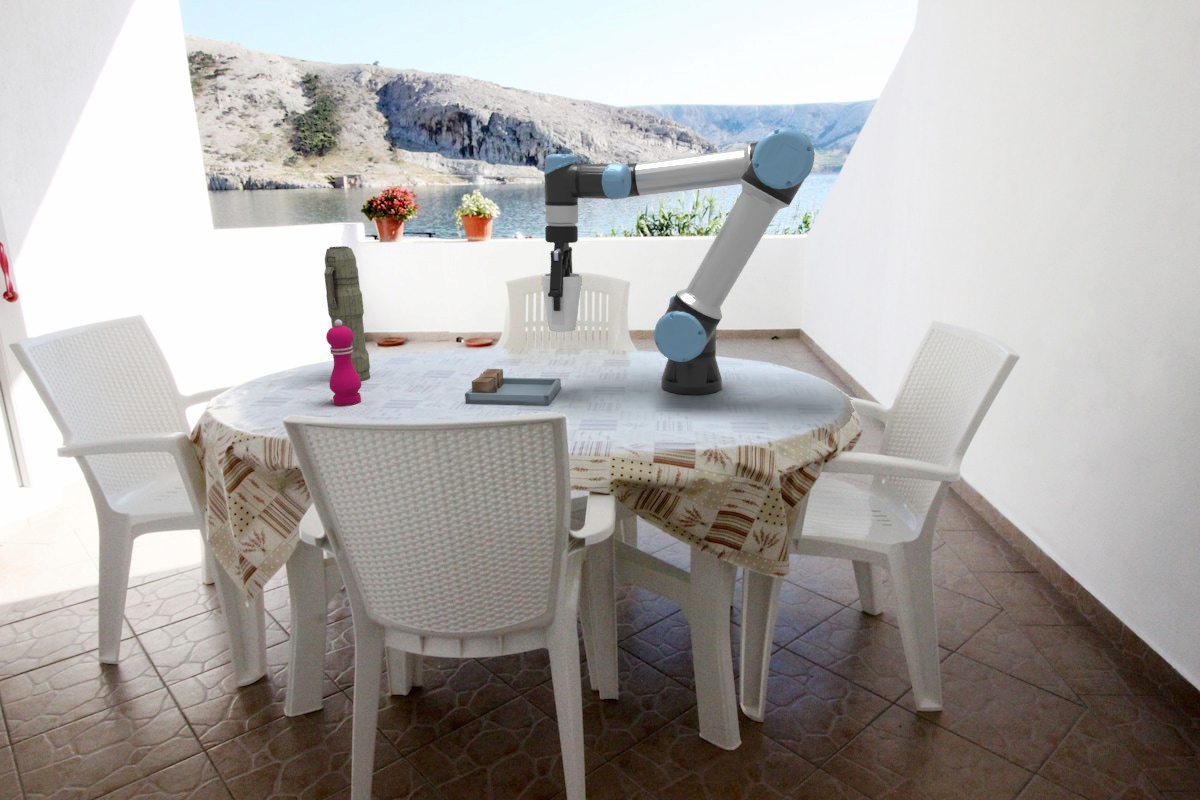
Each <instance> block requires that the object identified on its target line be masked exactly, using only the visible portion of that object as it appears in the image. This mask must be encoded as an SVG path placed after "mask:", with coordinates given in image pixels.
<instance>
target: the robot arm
mask: <svg viewBox="0 0 1200 800" xmlns="http://www.w3.org/2000/svg"><path fill="white" fill-rule="evenodd" d="M544 161H545V162H544V174H543V177H544V200H545V202H544V204H545V205H544V206H545V207H544V209H543V210H542V214H544V215H545V218H544V220H545V223H546V224H547V225H545V229H544V231H545V234H544V235H545V242H547V243H550V244H551V243H553V244H554V245H553V250H551V251H550V254H549V255H550V272H549V273H550V291H549V293H548V297H552V325H564V297H562V296H563V277H570V273H573V258H572V257H573V253H572V252H573V248H572V246H570V245H569V244H572V243H573V244H575V243H577V242H578V241H579V239H578V238H579V237H578V236H579V232H578V231H579V230H578V229H579V228H578V226H577V225H576V224H578V223H579V204H578V200H579V199H598V200H599V199H600V200H602V199H604V200H605V199H606V200H622V199H627V198H631V197H633V198H634V197H640V196H648V195H656V194H666V193H673V192H683V191H684V192H686V191H692V190H700V189H701V190H702V189H710V188H720V187H727V186H736V185H741V192H740V194H739V196H738V198H737V199H736V200H735V203H734V205H733V206H732V208H731V210H730V212H729V214H728V215H727V217H726V219H725V221H723V224H722V226H721V227H720V230H719V232H718V233H717V235H716V236H715V238H714V240H713V242H712V244H711V245H710V247H709V249H708V251H707V253H706V254H705V255H704V258H703V259H702V261H701V263H700V265H699V266H698V267H697V268H698V269H696V272H695V273H694V275H693V277H692V278H691V281H690V282H689V284H688V286H687V288H685V289H682V290H681V289H680V290H679V291H676V294H675V295H674V296H671V297H670V299H669V303H668V307H667V310H666V311H665V313H664V314H663V315H662V316H661V317H660V318H659V319H658V320H657V322H656V325H655V328H654V334H653V336H654V337H653V339H654V342H655V346H656V348H657V350H658V351H659V353H661V354H662V355H663V356H664V357H665V358H667V361H666V363H665V368H664V370H663V372H662V376H661V388H662V390H665V391H666V392H669V393H674V394H679V395H691V396H692V395H709V394H712V393H716V392H719V391H721V389H722V386H723V385H722V383H723V382H722V381H723V379H722V375H721V372H720V369H719V365H718V362H717V358H716V357H717V356H716V354H717V353H716V352H717V351H716V350H717V327H718V325H719V323H720V322H721V320H722V318H723V314H722V309H721V307H722V305H723V304H724V302H725V300H726V298H727V297H728V295H729V293H730V292H731V290H732V288H733V287H734V285H735V283H736V282H737V279H738V278H739V277H740V275H741V273H742V272H743V270H744V268H745V266H746V265H747V263H748V262H749V260H750V258H751V256H752V255H753V253H754V251H755V250H756V248H757V246H758V244H759V242H760V241H761V240H762V237H764V234H765V233H766V231H767V229H768V228H769V225H771V223H772V221H773V219H774V218H775V216H776V214H777V212H778V211H779V210H781V209H784V208H787V207H790V204H791V203H792V201H793V200H794V198H795V196H796V195H797V193H798V191H800V188H801V186H802V185H803V183H804V182H805V180H806V178H808V176H809V175H810V173H811V172H812V170H813V166H814V162H815V149H814V145H813V143H812V141H811V140H810V138H809V137H808V136H807V134H805V133H804V132H802V130H798V129H796V128H794V127H784V126H783V127H778V128H776V129H775V128H774V129H773V130H770V131H768V132H767V133H766V134H765V135H763V137H762V138H761V139H759V141H757V142H752V143H748V144H747V146H745V148H742V149H741V148H740V149H733V150H725V151H719V152H711V153H702V154H697V155H696V154H695V155H689V156H679V157H674V158H673V157H672V158H664V159H658V160H651V161H642V162H636V163H628V164H627V163H626V164H625V163H618V162H617V163H616V162H615V163H614V162H610V163H581V162H579V157H578V156H577V155H576V154H574V153H573V154H567V153H565V154H564V153H552V154H548V155H547V156H546V157H545V160H544Z"/></svg>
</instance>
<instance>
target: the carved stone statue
mask: <svg viewBox="0 0 1200 800" xmlns="http://www.w3.org/2000/svg"><path fill="white" fill-rule="evenodd" d="M324 264H325V270H324V274H323V275H324V281H325V282H324V283H325V289H326V290H325V291H326V296H325V297H326V302H327V303H326V304H327V313H328V316H329V317H330V320H331V328H332V327H335V324H334V322H335V321H336V320H338V319H339V320H341V321H342V326H345V327H348V328H349V329H350V330H351V331H352V333H353V336H354V339H353V342H352V343H351V346H352V350H353V352H352V353H351V360H352V364H353V367H354V368H355V370H356V372H357V373H358V375H359V377H360V380H361V382H364V381H367V380H369V379H370V378H371V375H370V373H371V372H370V369H371V365H370V364H371V363H370V356H369V352H368V350H367V346H366V339H365V338H366V337H365V327H364V320H363V316H364V313H365V312H364V310H365V309H364V301H363V294H362V291H361V288H360V286H361V285H360V278H359V270H358V267H357V258H356V256H355V254H354V251H353V249H352V247H349V246H343V245H342V246H329V248H327V249H326V250H325V256H324Z"/></svg>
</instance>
